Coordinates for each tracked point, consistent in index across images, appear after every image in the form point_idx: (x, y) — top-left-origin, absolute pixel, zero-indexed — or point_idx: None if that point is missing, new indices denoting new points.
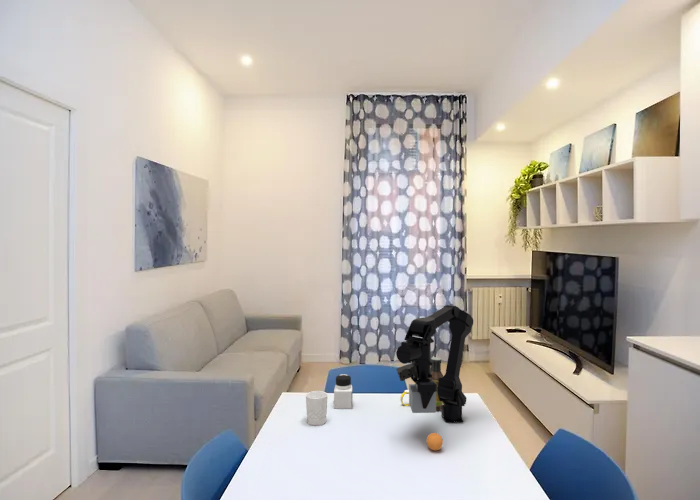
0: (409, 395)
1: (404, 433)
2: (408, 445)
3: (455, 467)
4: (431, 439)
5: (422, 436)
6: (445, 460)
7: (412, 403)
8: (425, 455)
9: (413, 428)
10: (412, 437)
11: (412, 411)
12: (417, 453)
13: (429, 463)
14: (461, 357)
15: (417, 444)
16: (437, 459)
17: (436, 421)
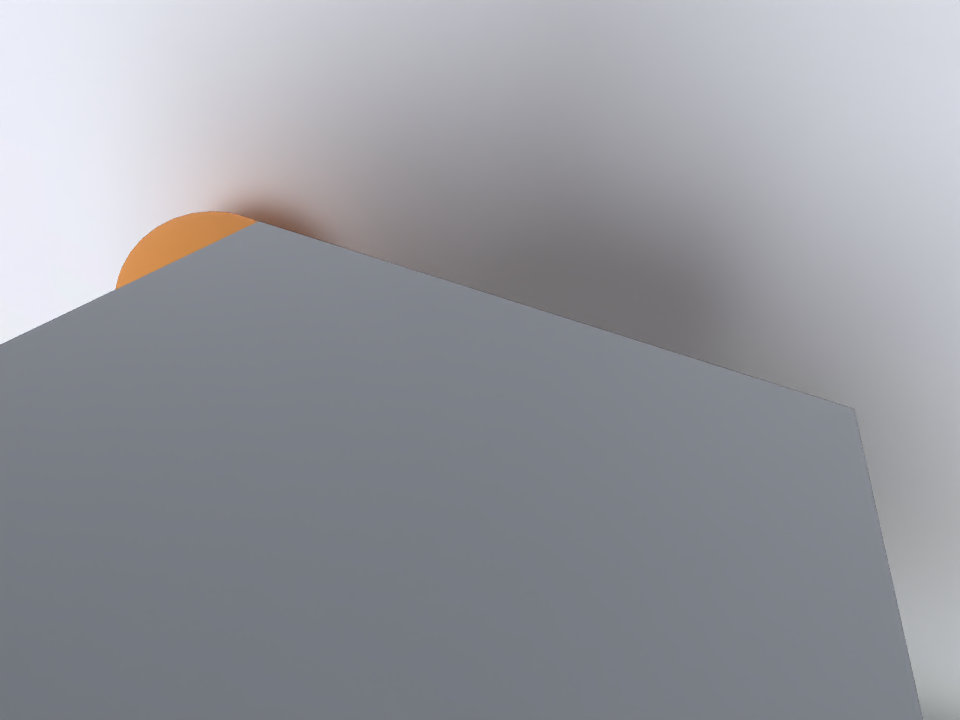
0: (775, 573)
1: (746, 85)
2: (384, 6)
3: (6, 288)
4: (126, 262)
5: (577, 294)
6: (93, 268)
7: (81, 310)
8: (163, 123)
9: (855, 291)
10: (585, 155)
11: (248, 232)
12: (199, 49)
13: (31, 96)
14: None
15: (394, 140)
16: (102, 207)
17: (919, 648)
